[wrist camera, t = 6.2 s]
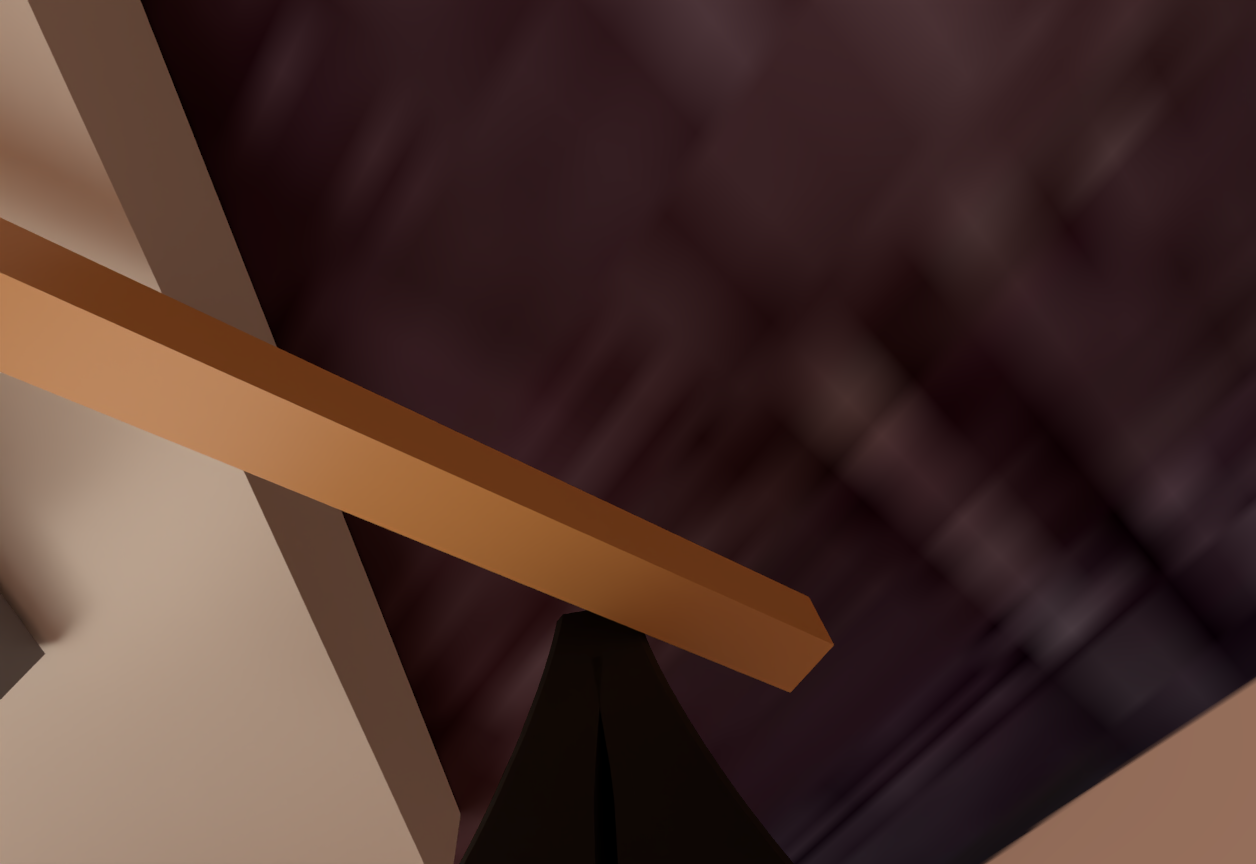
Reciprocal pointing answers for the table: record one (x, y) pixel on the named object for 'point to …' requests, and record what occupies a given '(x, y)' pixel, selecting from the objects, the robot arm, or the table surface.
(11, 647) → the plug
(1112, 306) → the table surface
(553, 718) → the robot arm
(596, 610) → the orange long bar
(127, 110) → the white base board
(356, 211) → the table surface
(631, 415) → the table surface
